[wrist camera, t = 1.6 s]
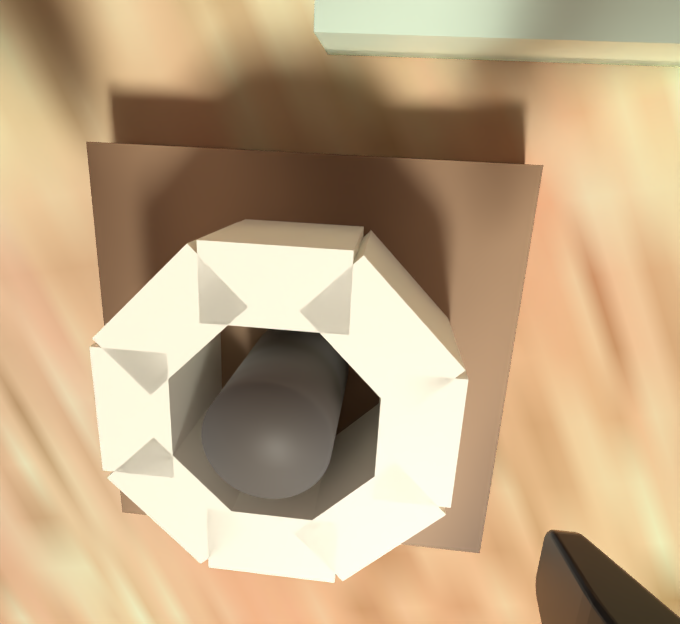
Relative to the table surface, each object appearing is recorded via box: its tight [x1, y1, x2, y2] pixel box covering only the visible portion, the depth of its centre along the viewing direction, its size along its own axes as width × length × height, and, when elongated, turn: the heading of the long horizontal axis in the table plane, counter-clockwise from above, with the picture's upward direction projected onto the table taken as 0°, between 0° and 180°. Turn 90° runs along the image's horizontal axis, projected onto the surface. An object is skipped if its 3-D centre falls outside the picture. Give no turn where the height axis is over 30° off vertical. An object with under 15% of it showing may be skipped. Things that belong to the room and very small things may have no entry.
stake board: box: [86, 142, 543, 553], centre depth 11 cm, size 10×10×5 cm
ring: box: [90, 219, 468, 583], centre depth 11 cm, size 7×7×3 cm
